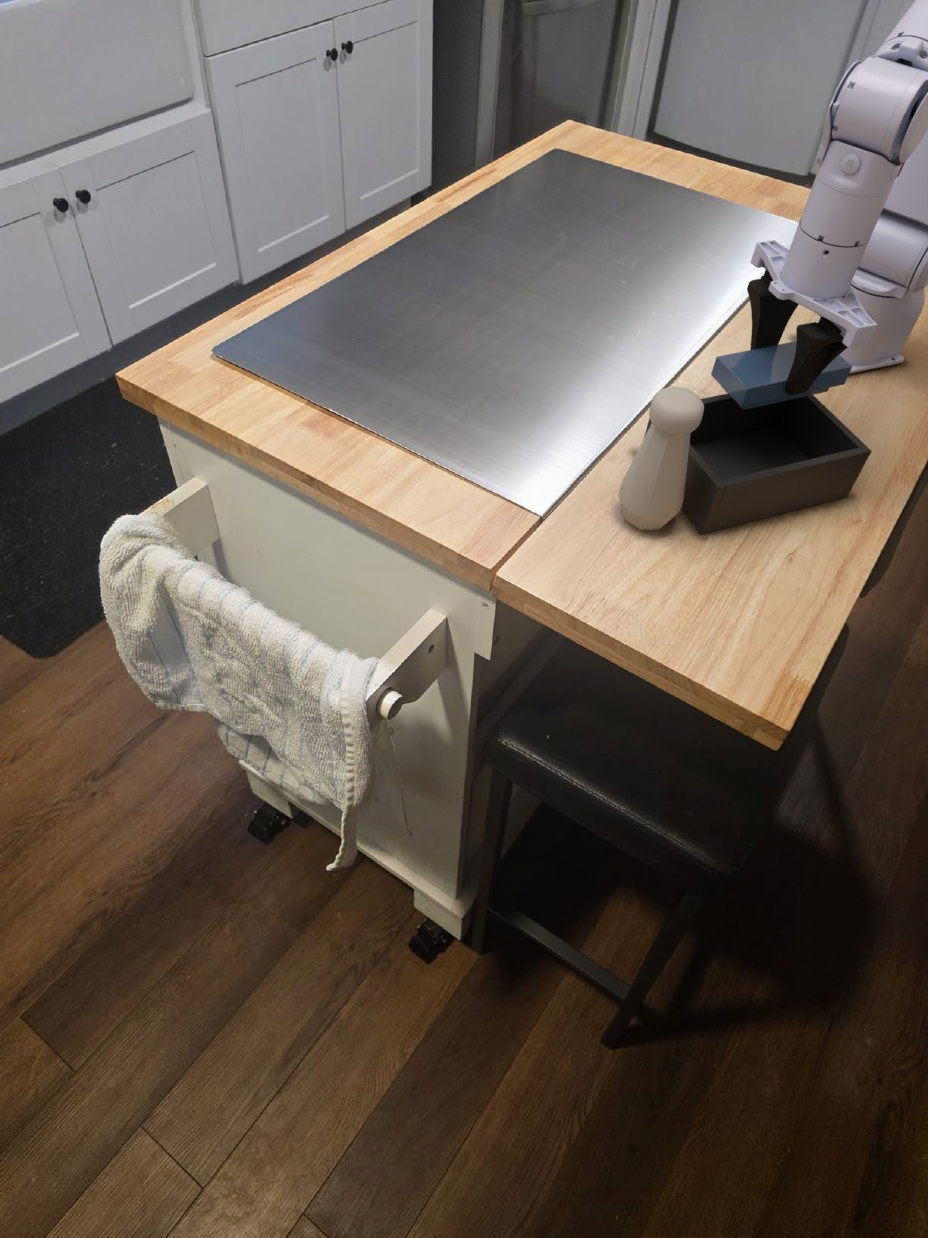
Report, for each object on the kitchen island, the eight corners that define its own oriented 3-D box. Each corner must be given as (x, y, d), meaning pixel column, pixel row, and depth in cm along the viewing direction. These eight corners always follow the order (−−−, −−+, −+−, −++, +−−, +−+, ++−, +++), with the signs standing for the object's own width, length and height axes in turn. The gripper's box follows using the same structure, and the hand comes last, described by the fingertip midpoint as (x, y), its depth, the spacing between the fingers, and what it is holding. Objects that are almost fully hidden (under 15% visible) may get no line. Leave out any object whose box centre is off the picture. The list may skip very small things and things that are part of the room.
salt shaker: (685, 510, 81) (727, 392, 71) (662, 546, 78) (702, 428, 68) (628, 486, 83) (660, 367, 73) (603, 520, 79) (633, 401, 69)
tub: (777, 424, 91) (796, 378, 86) (847, 496, 84) (872, 450, 80) (638, 455, 86) (651, 408, 82) (700, 534, 79) (718, 487, 75)
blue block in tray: (707, 383, 83) (716, 356, 80) (807, 363, 86) (818, 335, 84) (737, 416, 80) (747, 388, 77) (840, 393, 83) (852, 366, 81)
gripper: (743, 195, 74) (700, 337, 85) (850, 281, 66) (787, 427, 76) (811, 187, 76) (760, 327, 87) (923, 269, 68) (852, 413, 78)
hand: (777, 373), depth 81 cm, fingers closed on blue block in tray, 5 cm apart
